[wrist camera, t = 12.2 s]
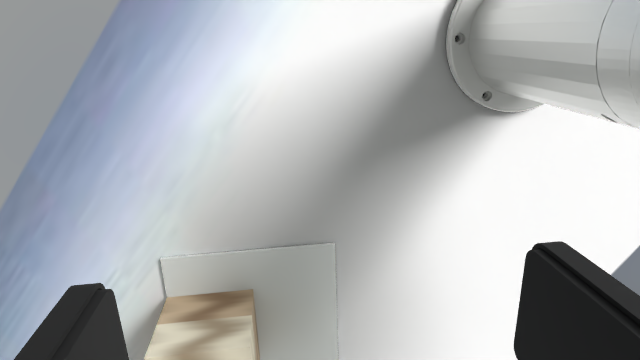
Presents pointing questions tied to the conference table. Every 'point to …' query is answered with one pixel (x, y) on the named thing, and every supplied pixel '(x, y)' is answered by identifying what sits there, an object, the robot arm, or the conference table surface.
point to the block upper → (204, 340)
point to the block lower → (211, 308)
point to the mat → (271, 294)
